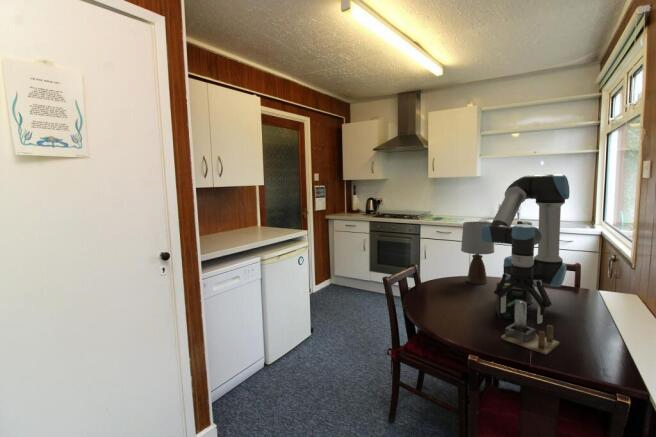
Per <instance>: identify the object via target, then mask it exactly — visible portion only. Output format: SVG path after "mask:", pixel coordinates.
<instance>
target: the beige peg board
mask: <svg viewBox="0 0 656 437" xmlns="http://www.w3.org/2000/svg"><path fill="white" fill-rule="evenodd" d="M536 332H537V329H536V328H533V327H530V326H527V325H526V333H523V332H520V331H517V330H515V322H513V323H512V324H509V325H508V326H506V327H505V328H504V334H503V335H501V338H500V339H502V340H504V341H506V342H510V343H512V344H516V345H518V346H521V347H524V348H526V349H530V350H532V351H535V352H538V353H540V354H543V355H548V354H549V353H551V352H552V351H553V350H554V349H555V348H556V347H558V346H559V345H560V341H558V340H555V339H554V326H553V325H551V324H547V325H546V332H545V331H543V330H538V333H536Z"/></svg>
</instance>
